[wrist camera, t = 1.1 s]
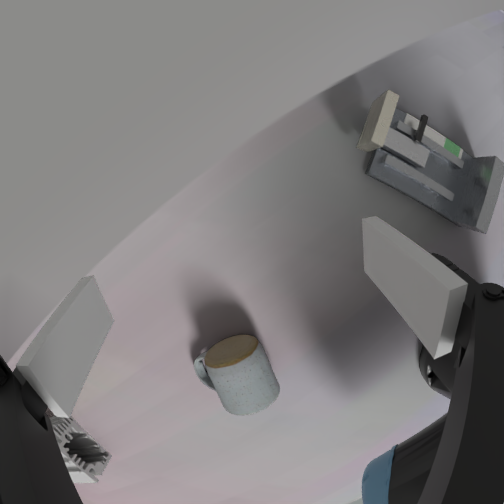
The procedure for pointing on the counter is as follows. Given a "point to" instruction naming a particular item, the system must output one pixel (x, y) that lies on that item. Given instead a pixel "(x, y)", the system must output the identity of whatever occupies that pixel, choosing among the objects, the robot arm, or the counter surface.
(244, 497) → the counter surface
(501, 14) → the counter surface
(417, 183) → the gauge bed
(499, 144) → the counter surface
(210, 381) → the grey tan cylinder
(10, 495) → the robot arm
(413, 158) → the sliding gauge carriage
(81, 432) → the aluminum extrusion profile
